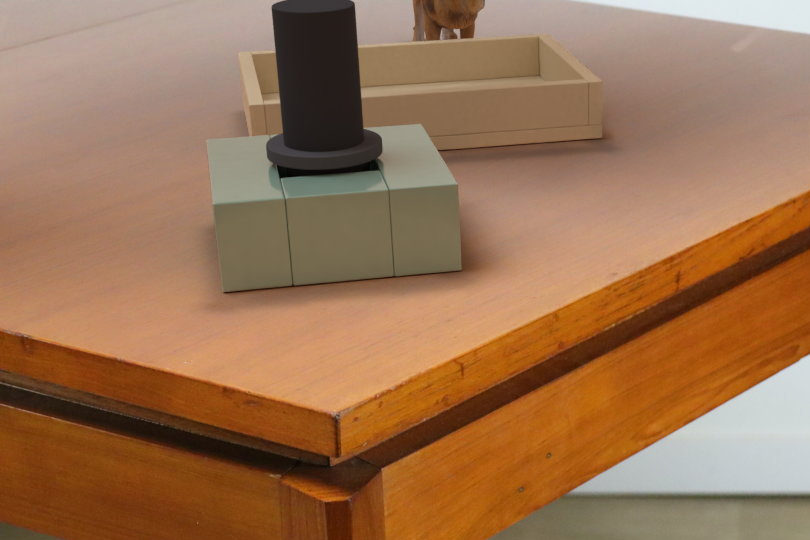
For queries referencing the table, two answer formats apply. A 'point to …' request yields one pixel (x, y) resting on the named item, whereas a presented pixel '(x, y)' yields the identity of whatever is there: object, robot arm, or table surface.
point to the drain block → (333, 215)
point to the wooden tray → (455, 91)
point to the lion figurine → (445, 18)
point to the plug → (319, 90)
